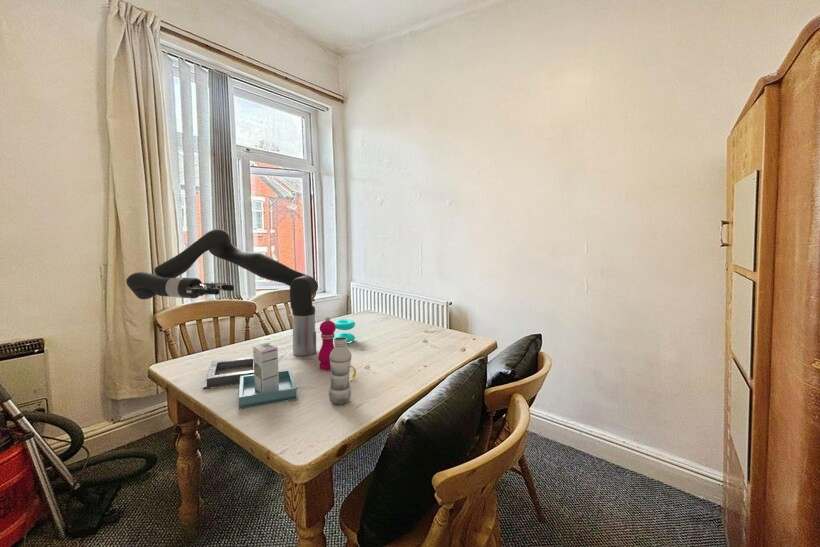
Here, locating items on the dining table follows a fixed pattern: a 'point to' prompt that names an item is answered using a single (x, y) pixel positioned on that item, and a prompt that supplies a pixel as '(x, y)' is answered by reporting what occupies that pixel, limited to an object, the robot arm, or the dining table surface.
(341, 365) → the plastic bottle
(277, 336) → the dining table surface
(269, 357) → the syrup box
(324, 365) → the pepper mill
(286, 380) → the tray
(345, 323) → the donuts
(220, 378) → the metal socket
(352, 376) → the watch
